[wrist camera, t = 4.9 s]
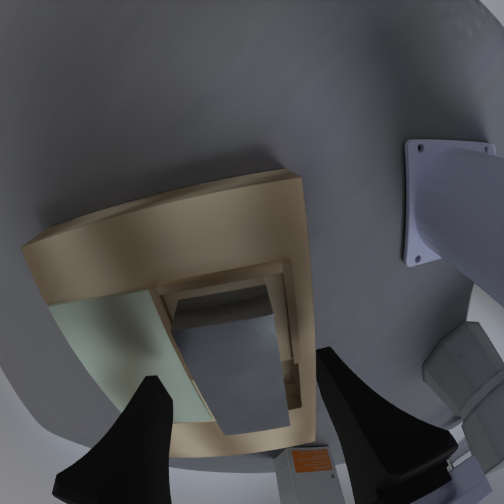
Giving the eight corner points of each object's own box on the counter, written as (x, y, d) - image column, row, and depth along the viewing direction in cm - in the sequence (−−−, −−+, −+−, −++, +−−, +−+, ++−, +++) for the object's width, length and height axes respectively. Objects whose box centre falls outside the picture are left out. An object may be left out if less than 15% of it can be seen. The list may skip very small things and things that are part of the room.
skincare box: (330, 444, 26) (353, 522, 15) (313, 457, 28) (331, 530, 17) (286, 446, 25) (303, 534, 14) (271, 459, 26) (284, 538, 15)
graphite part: (265, 284, 12) (273, 314, 10) (284, 398, 16) (290, 425, 14) (178, 299, 12) (170, 331, 10) (223, 408, 16) (224, 435, 14)
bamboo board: (285, 168, 13) (304, 178, 10) (308, 416, 22) (316, 444, 19) (48, 227, 13) (16, 250, 10) (168, 432, 22) (165, 460, 19)
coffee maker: (441, 388, 25) (498, 488, 8) (396, 396, 23) (456, 525, 7) (506, 287, 19) (599, 384, 3) (473, 277, 17) (597, 409, 1)
